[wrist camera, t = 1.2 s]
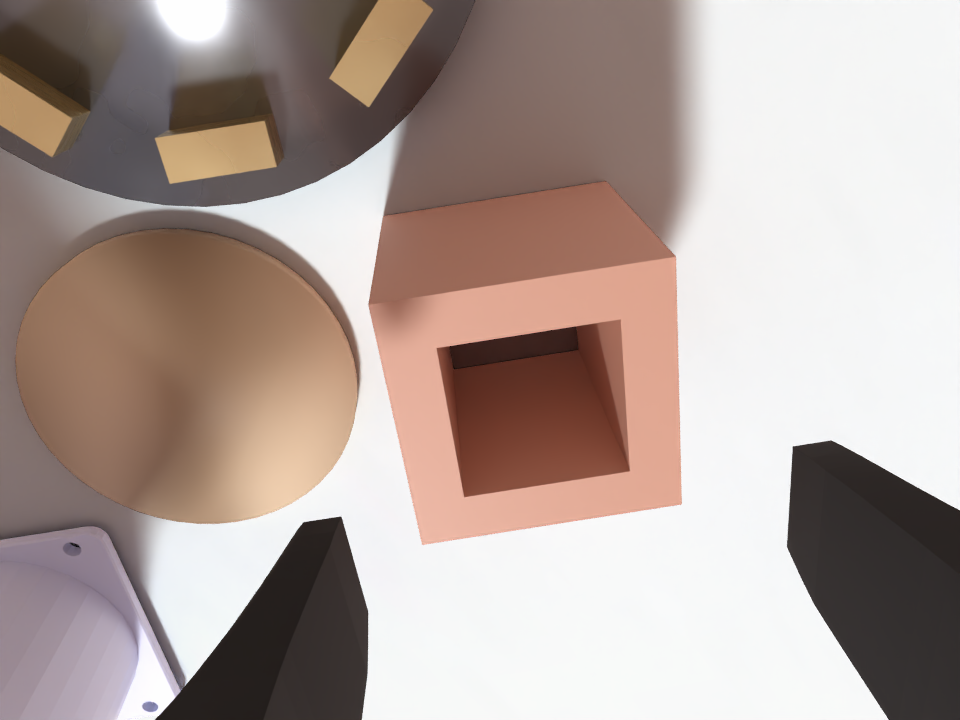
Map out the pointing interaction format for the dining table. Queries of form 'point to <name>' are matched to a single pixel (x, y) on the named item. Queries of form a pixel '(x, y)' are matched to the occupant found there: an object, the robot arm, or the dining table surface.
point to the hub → (212, 89)
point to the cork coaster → (187, 376)
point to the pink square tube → (530, 360)
